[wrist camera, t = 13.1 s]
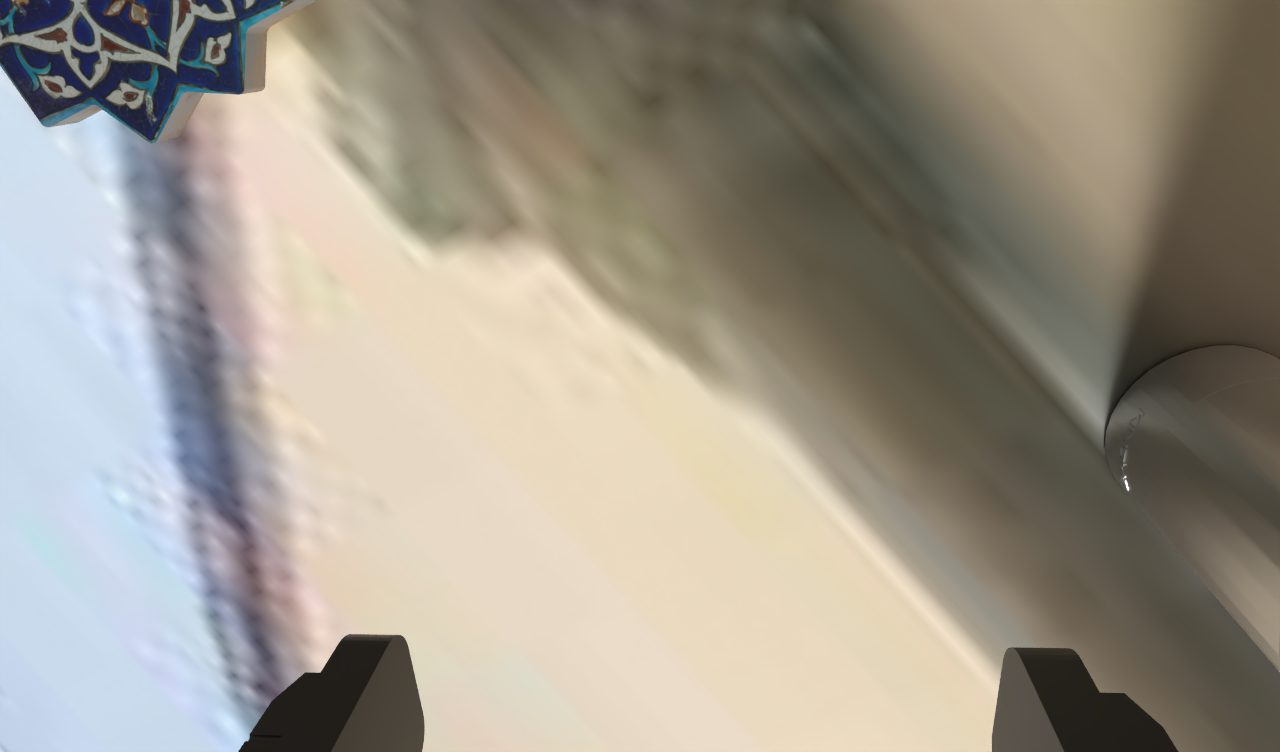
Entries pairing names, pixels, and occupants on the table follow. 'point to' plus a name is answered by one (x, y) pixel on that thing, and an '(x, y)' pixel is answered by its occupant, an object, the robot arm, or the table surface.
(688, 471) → the table surface
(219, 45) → the decorative tile
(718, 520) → the table surface
